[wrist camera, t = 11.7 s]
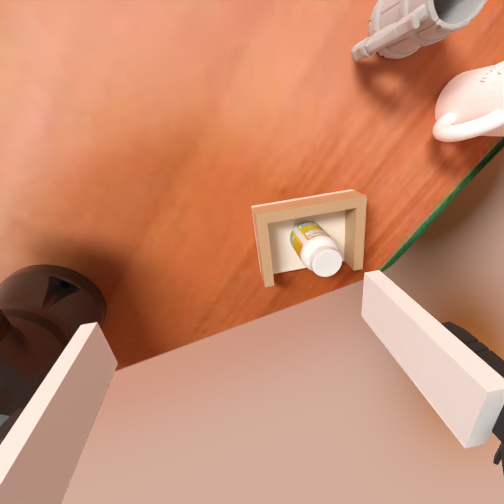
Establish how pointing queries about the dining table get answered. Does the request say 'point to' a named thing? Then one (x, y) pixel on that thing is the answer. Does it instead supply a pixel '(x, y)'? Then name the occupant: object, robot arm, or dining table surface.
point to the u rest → (319, 211)
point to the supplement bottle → (315, 248)
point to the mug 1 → (413, 25)
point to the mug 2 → (471, 105)
